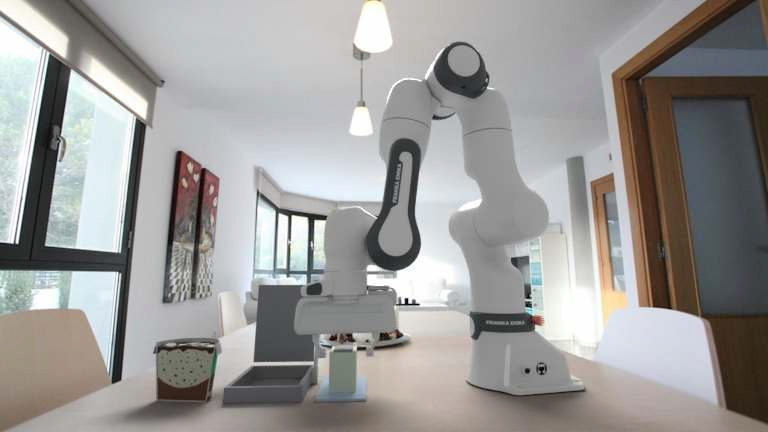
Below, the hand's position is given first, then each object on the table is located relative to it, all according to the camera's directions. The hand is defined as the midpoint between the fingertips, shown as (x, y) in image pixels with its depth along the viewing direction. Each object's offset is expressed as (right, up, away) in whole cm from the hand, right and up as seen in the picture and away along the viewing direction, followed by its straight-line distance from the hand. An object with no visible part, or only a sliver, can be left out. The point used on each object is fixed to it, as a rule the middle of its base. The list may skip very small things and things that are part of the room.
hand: (346, 356), depth 76 cm
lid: (-14, +4, +10) cm, 18 cm away
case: (-14, -6, -1) cm, 15 cm away
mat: (-1, -6, -1) cm, 6 cm away
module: (0, -5, -1) cm, 6 cm away
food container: (-28, -5, -6) cm, 29 cm away
